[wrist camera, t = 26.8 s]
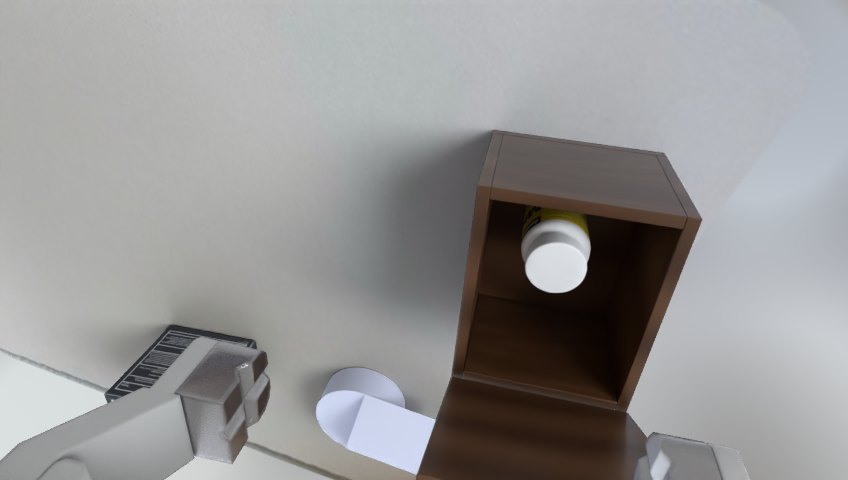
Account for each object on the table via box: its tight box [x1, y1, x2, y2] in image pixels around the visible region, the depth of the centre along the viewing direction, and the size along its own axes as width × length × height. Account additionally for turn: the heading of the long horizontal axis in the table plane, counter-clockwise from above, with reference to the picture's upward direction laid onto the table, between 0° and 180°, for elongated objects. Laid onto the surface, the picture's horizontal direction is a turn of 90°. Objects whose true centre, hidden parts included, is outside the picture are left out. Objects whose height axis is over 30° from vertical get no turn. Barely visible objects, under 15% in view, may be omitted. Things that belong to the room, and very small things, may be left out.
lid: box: [416, 377, 648, 480], centre depth 29 cm, size 16×13×5 cm
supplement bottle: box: [521, 205, 591, 293], centre depth 37 cm, size 5×5×8 cm
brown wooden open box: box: [451, 130, 702, 412], centre depth 38 cm, size 16×13×11 cm
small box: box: [104, 325, 257, 403], centre depth 54 cm, size 11×6×10 cm, turn 87°
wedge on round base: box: [316, 367, 436, 475], centre depth 54 cm, size 9×7×13 cm
